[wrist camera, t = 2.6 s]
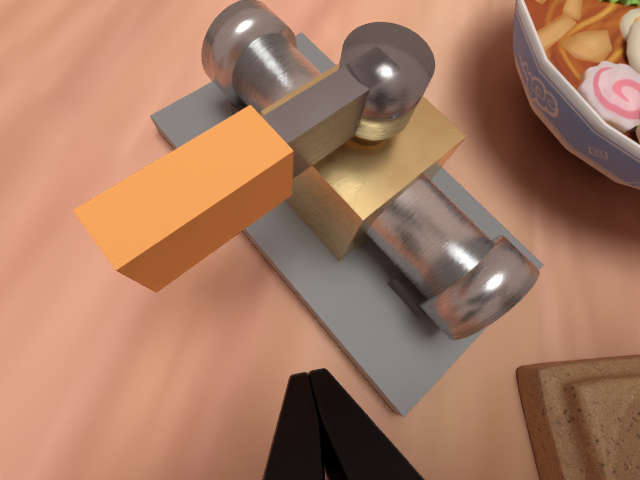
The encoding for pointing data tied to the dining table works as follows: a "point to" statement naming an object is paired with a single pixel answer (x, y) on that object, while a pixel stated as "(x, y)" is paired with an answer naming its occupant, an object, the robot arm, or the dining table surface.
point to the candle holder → (584, 417)
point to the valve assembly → (364, 217)
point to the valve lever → (255, 159)
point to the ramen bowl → (584, 78)
